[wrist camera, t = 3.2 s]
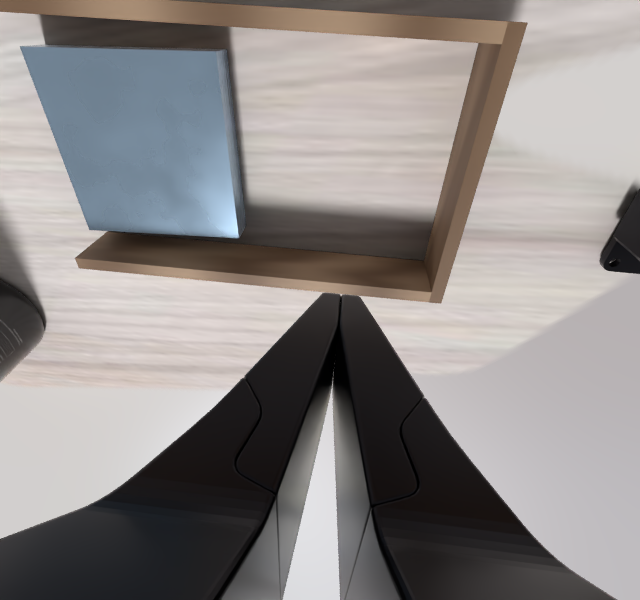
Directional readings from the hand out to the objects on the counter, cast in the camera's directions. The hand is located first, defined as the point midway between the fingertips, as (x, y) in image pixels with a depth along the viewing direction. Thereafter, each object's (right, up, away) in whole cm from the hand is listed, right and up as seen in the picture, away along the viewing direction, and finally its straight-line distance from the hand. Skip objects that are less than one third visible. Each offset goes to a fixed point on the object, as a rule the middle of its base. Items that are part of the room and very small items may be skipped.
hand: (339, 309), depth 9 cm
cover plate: (-8, +8, +10) cm, 15 cm away
